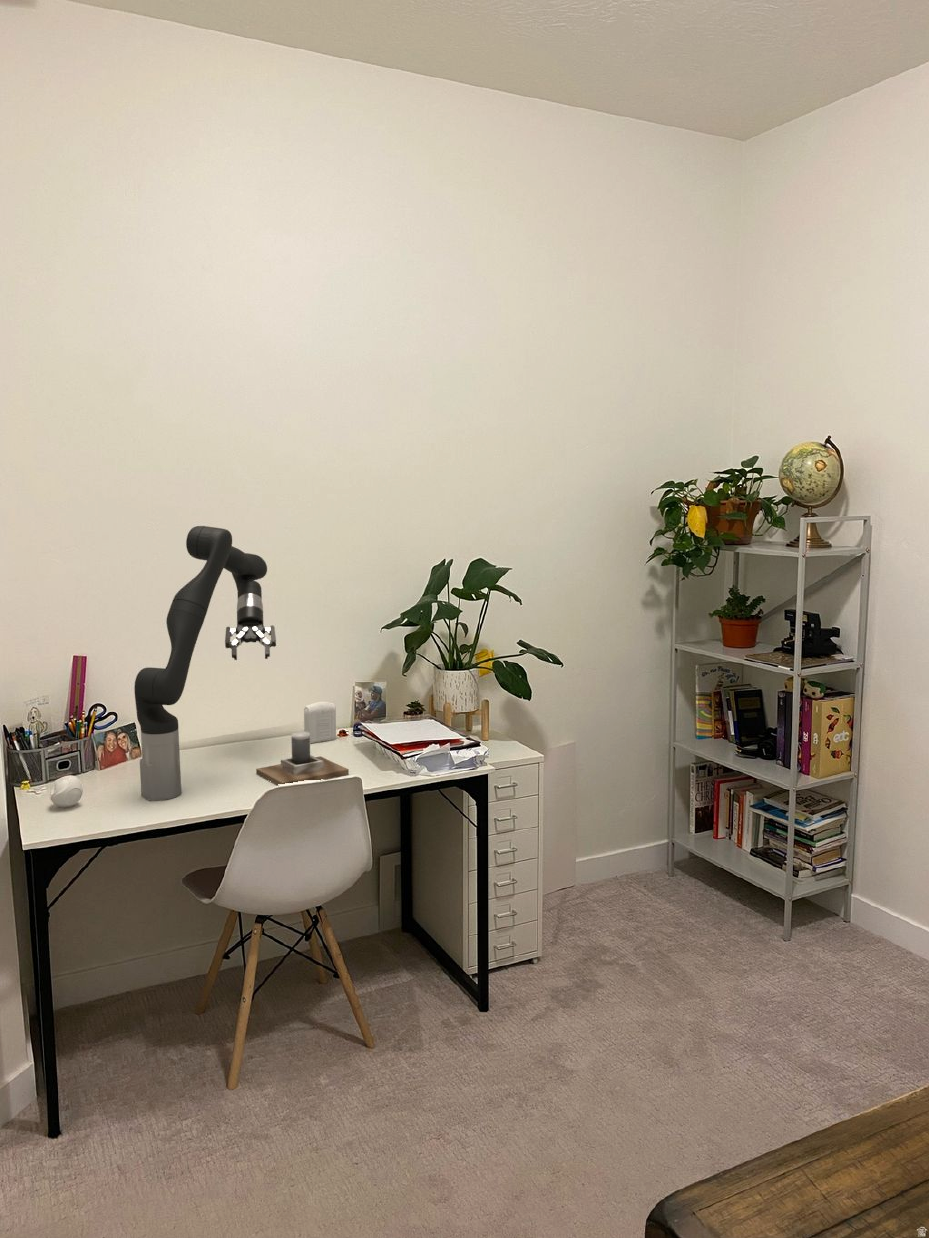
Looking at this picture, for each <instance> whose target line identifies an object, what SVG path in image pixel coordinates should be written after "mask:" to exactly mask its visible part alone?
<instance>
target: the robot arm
mask: <svg viewBox="0 0 929 1238" xmlns="http://www.w3.org/2000/svg"><path fill="white" fill-rule="evenodd" d="M232 535H233V534H232V533H231V531H229V529H225V528H220V527H214V526H206V525H197V526H193V527H192V528H191V529H190V530H189V531H188V532H187V536H186V539H185V540H186V542H185V544H186V545H185V546H186V550H187V552H188V555H189V556H191V557H192V558H194V559H196V560H202V561H205V563H204V565H203V568H202V569H201V570H200V572H199V573H198V574H197V575H196V576H195V577H193V578H192V579H191V580H190V581H189V582H187V583H186V584H185V585H183V586H182V588H180V589H179V590H178V591H177V592H176V593H175V595H174V597H173V598H172V602H171V603H170V607H169V610H168V612H167V616H166V628H167V632H168V637H169V641H170V647H171V648H170V655H169V659H168V661H167V664H166V666H165V667H164V668H163V667H151V666H150V667H144V668H142V669H141V670H139V671H138V673H137V675H136V677H135V680H134V691H133V692H134V698H135V701H134V702H135V709H136V710H135V712H136V718H137V721H138V722H137V723H139V728H140V739H141V740H140V741H141V742H140V744H141V759H140V758H139V759H140V760H139V773H140V774H139V775H140V794H141V796H142V797H143V798H144V799H146V800H148V801H149V802H150V801H151V802H152V801H163V800H170V799H174V798H176V797H179V796H181V794H182V778H181V777H182V776H181V775H182V774H181V756H180V755H181V754H180V753H181V752H180V733H179V732H180V731H179V730H180V729H179V720H178V717H176V716H175V715H174V714H172V713H170V712H169V711H167V709H166V708H165V707H164V706H172V705H173V706H174V705H175V704H176V703H178V701H180V699H181V697H182V695H183V693H184V689H185V686H186V681H187V679H188V674H189V669H190V666H191V662H192V661H191V660H192V656H193V654H194V650H195V647H196V644H197V640H198V637H199V635H200V632H201V630H202V627H203V625H204V622H205V619H206V615H207V613H208V610H209V607H210V602H211V600H212V598H213V594H214V592H215V588H216V585H217V584H218V581H219V579H220V577H221V574H222V572H223V569H225V570H226V571H227V572H230V573H231V575H232V579H233V580H234V583H235V586H236V590H237V603H236V628H231V626H226V627H225V637H224V645H225V649H231V657H232V659H234V661H237V660H238V650H237V649H238V648H239V646H241V645H242V644H243V643H244V642H245V643H247V644H248V643H257V642H258V643H259V644H260V645H262V646H263V647H264V659H265V660H266V659H267V660H268V658H270V657H271V651H270V650H271V647H273V648H275V647H277V637H276V630H275V629H276V628H275V626H274V625H273V624H272V625H270V626H269V627H265V626H264V604H263V596H262V593H263V592H262V586H261V584H260V582H258V581H257V580H261V579H262V578H265V576H266V575H267V573H268V565H267V563H266V561H265V560H264V559H263V557H261V556H260V555H258V554H254V553H247V552H246V553H245V552H244V551H242V550H241V549H239V548H237V547H235V546H233V536H232ZM265 633H267V635H268V636H270V640H269V639H267V637H266V635H265ZM234 634H235V635H236V637H235V638H234V640H232V641H231V637H233V636H234Z"/></svg>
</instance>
